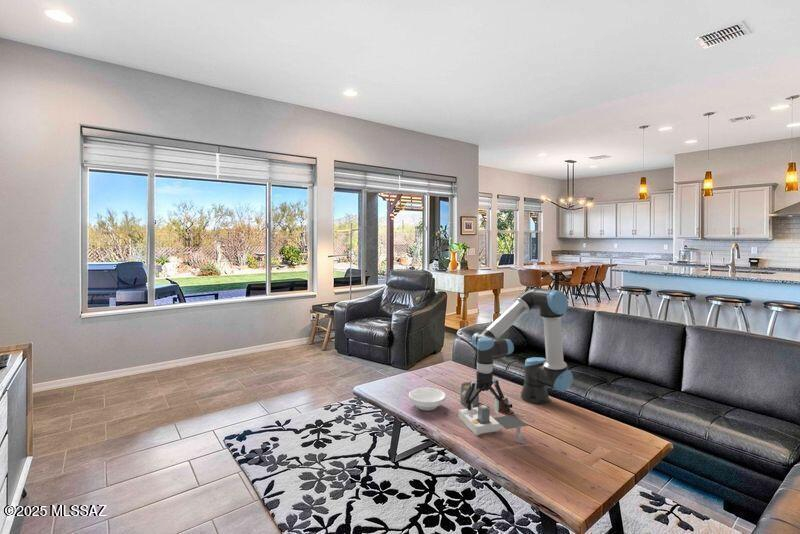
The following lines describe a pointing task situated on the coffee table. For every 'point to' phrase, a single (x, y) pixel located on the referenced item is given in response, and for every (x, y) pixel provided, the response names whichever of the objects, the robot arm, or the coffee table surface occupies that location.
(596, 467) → the coffee table surface
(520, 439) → the architectural model
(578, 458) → the coffee table surface
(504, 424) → the mat
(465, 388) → the coffee mug
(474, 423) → the socket block
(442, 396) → the bowl
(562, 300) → the robot arm
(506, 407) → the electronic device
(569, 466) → the coffee table surface
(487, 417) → the plug
